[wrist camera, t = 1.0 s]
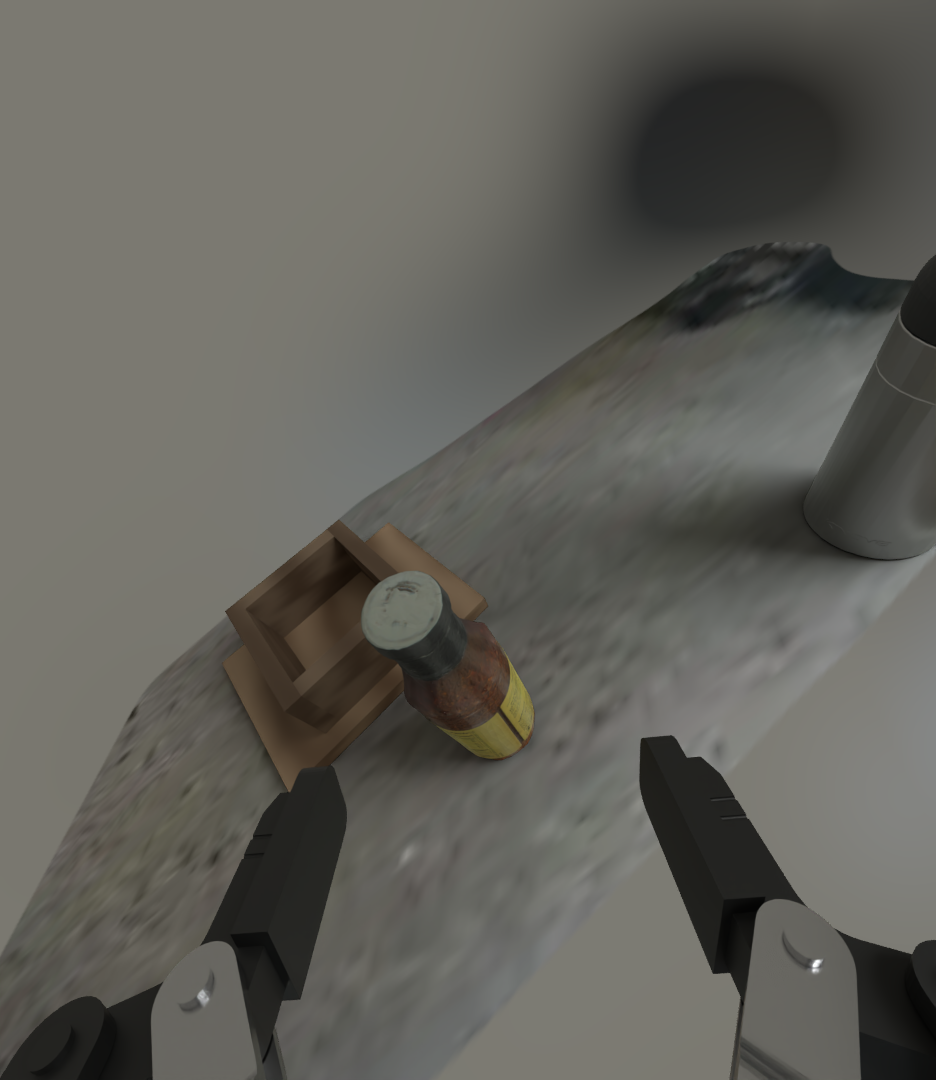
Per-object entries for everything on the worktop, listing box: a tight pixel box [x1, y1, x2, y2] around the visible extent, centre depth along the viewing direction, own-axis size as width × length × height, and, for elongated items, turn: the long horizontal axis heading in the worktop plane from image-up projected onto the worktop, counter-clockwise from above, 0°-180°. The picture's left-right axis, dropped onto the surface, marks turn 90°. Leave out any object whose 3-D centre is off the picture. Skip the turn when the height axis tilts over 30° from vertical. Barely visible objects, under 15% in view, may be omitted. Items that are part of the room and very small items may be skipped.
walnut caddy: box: [222, 520, 488, 792], centre depth 40 cm, size 22×16×8 cm
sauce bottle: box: [361, 571, 535, 760], centre depth 27 cm, size 6×6×20 cm
